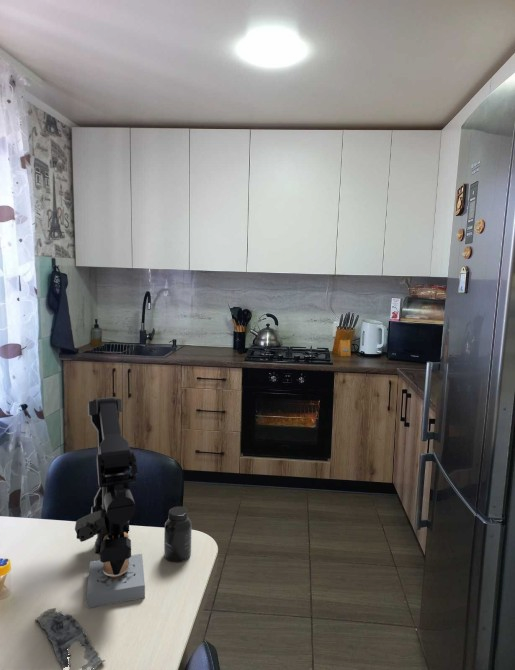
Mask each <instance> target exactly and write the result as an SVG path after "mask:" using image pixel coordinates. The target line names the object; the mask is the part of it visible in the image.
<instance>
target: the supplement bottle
mask: <svg viewBox="0 0 515 670" xmlns="http://www.w3.org/2000/svg"><path fill="white" fill-rule="evenodd" d="M192 525H193V524H192V521H191V519H190V518H189V510H188V508H186V507H184V506H173V507H171V508H170V509H169V511H168V519H167V520H166V521H165V523H164V532H163V533H164V534H163V535H164V540H163V541H164V543H163V546H164V547H163V548H164V549H163V553H164V555H163V556H164V557H165V559H166V560H167V561H169V562H171V563H180V562H184V561H186V560H187V559H189V558H190V556H191V553H192Z"/></svg>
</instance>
